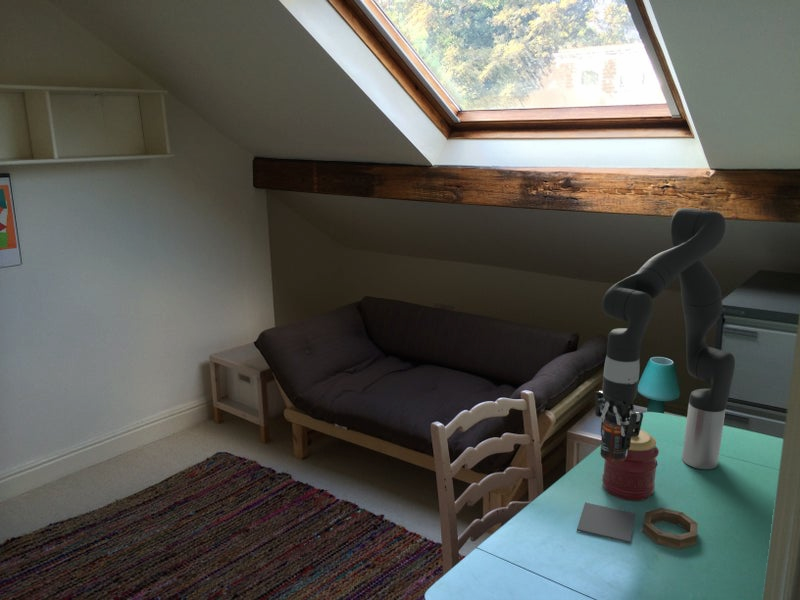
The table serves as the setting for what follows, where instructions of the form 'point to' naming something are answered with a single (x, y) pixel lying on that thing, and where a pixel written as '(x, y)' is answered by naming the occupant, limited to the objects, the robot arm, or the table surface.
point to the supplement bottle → (612, 439)
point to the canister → (633, 470)
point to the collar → (668, 538)
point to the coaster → (606, 522)
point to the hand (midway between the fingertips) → (614, 442)
